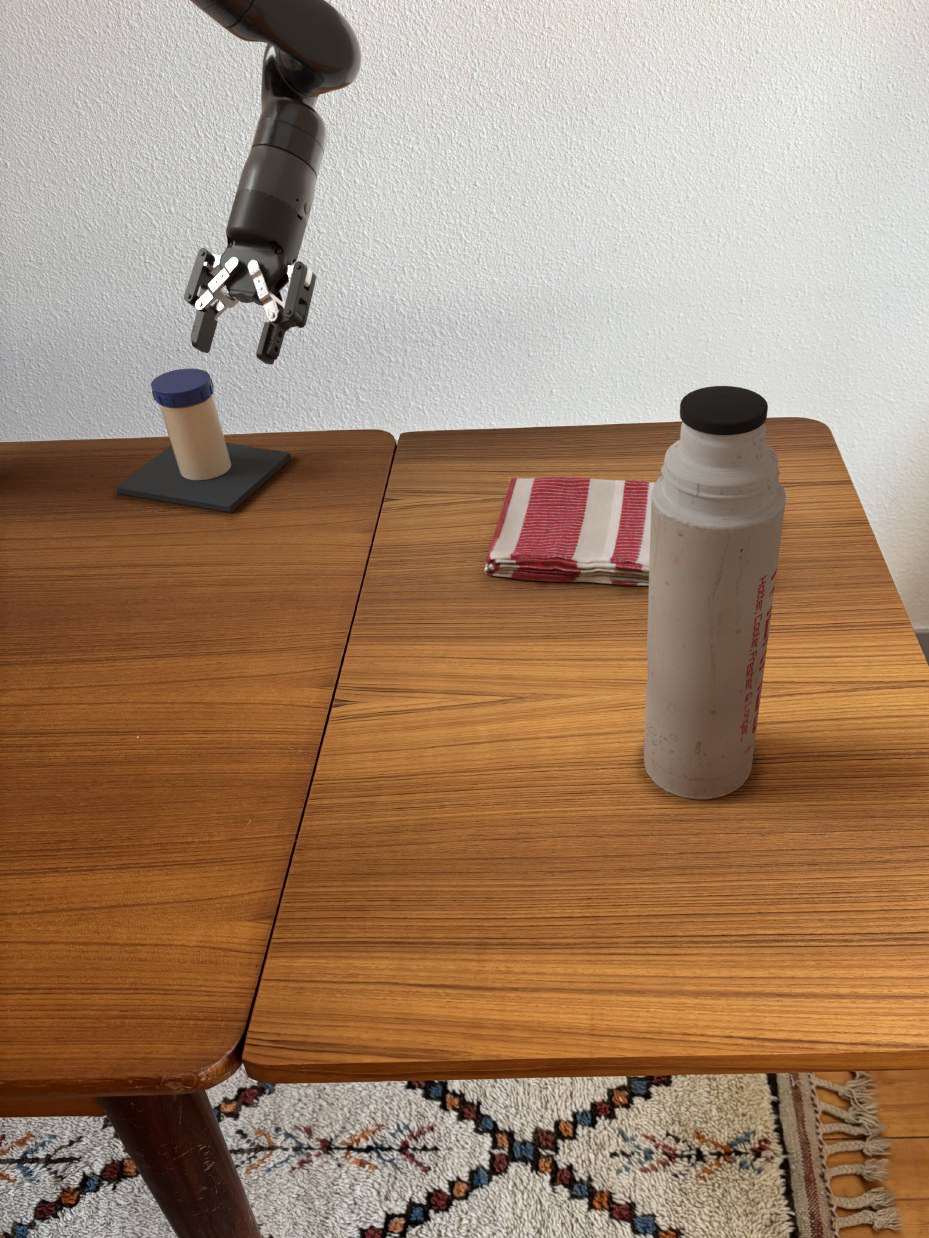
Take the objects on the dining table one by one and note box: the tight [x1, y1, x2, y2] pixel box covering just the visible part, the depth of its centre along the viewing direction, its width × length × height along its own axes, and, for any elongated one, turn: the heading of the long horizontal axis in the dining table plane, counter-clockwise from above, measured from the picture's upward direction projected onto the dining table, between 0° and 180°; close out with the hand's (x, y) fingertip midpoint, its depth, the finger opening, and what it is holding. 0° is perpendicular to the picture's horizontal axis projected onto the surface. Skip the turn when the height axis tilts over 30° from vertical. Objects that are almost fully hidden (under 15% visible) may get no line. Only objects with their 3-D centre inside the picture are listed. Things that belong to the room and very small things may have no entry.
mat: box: [115, 442, 292, 514], centre depth 112 cm, size 14×12×1 cm
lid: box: [150, 368, 215, 407], centre depth 106 cm, size 6×6×2 cm
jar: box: [158, 393, 231, 480], centre depth 109 cm, size 5×5×9 cm
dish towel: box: [483, 476, 656, 587], centre depth 100 cm, size 17×23×3 cm
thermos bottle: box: [643, 385, 787, 800], centre depth 68 cm, size 8×8×28 cm
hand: (231, 355), depth 111 cm, fingers open, 8 cm apart
